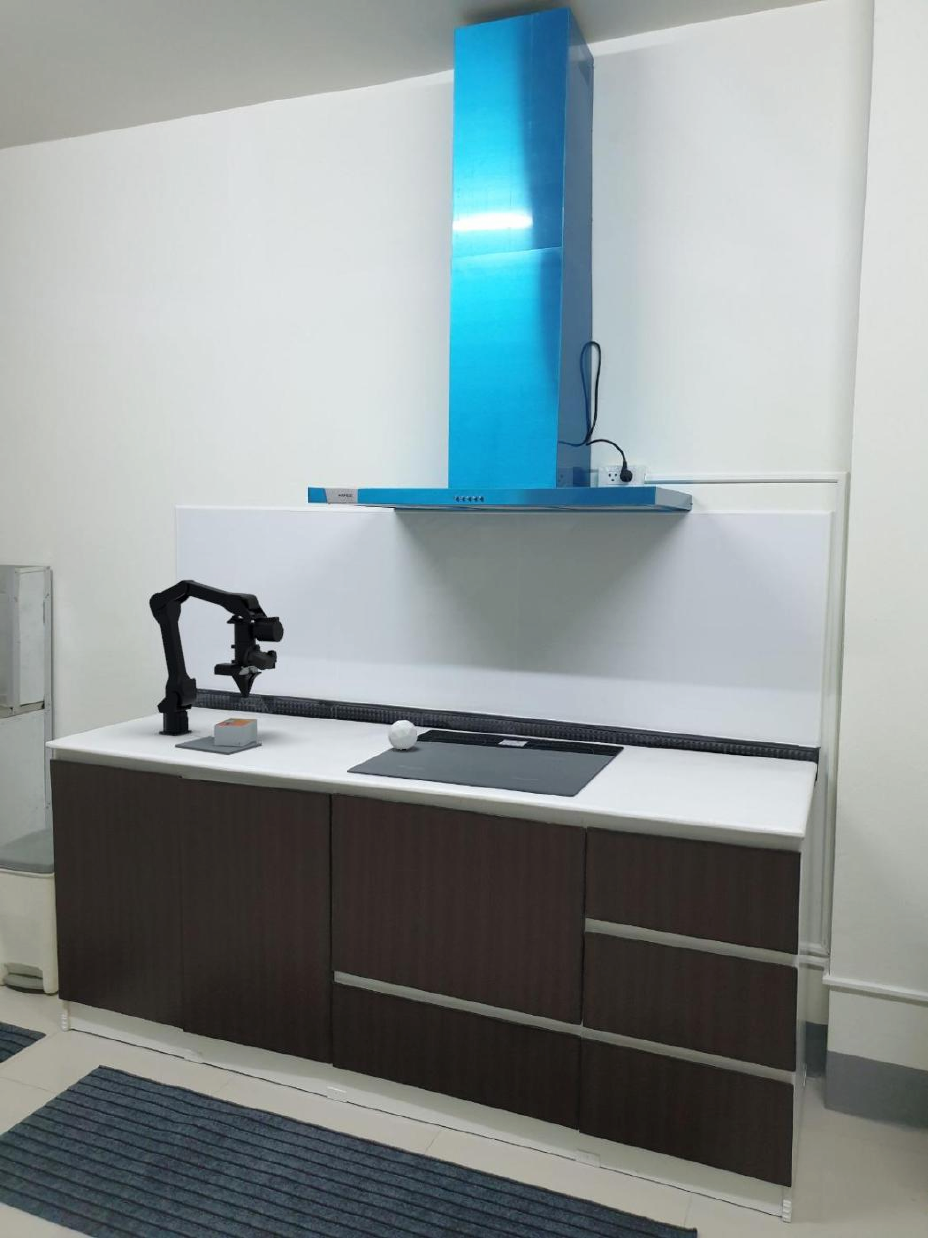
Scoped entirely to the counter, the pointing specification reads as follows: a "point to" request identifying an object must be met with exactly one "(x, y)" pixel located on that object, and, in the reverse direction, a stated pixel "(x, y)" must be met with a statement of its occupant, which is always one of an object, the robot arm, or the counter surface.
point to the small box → (235, 732)
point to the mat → (208, 746)
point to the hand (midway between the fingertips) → (245, 698)
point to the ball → (402, 735)
